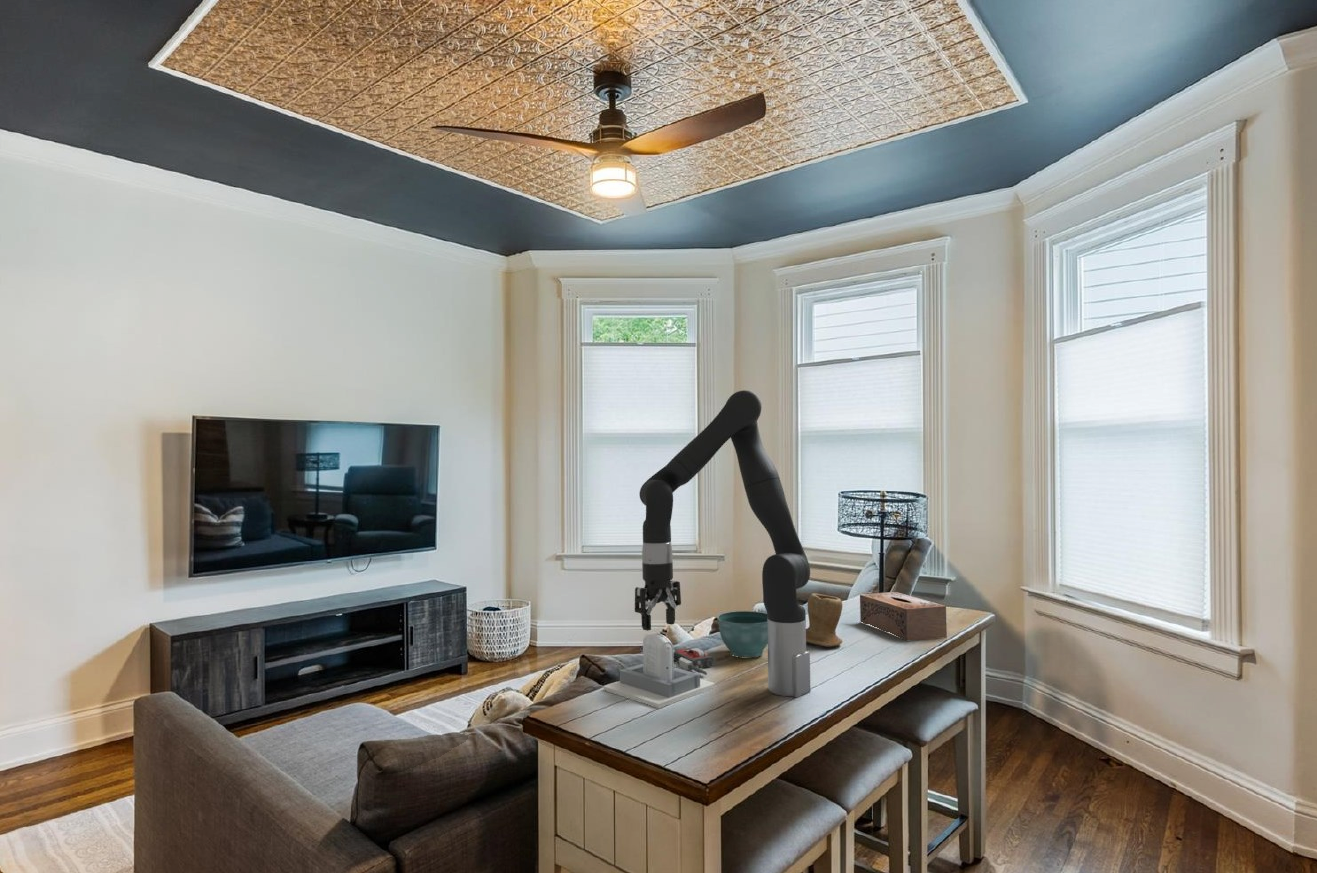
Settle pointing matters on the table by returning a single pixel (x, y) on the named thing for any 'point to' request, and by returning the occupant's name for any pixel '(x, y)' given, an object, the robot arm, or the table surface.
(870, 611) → the tissue box cover
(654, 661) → the photo printer
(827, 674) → the table surface
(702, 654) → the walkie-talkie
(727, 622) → the flower pot
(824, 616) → the tan flared cylinder
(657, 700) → the dock
